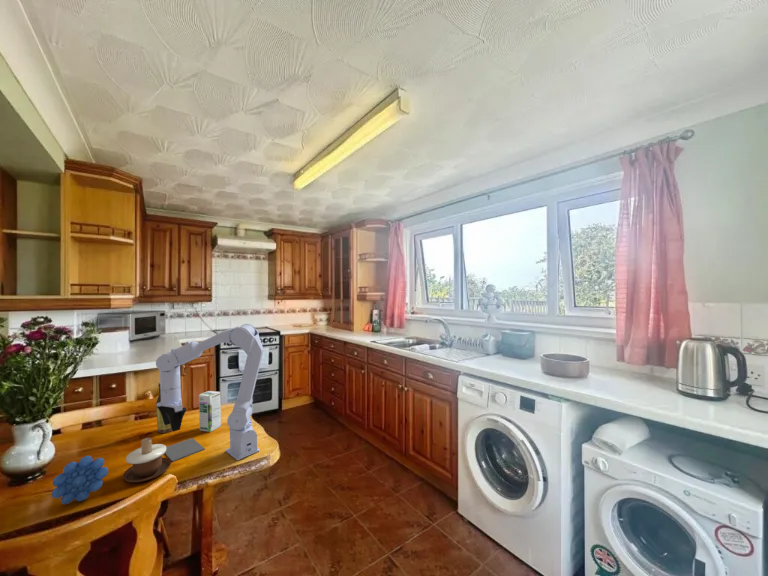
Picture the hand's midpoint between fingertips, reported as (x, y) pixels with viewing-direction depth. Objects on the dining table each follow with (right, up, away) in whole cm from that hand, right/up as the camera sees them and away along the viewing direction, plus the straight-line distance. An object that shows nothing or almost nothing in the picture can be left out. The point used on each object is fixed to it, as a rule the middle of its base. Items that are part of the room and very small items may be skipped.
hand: (172, 427), depth 108 cm
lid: (-2, -5, -9) cm, 10 cm away
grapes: (-11, -11, -20) cm, 26 cm away
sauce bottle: (-16, -10, +20) cm, 27 cm away
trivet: (+1, -10, +5) cm, 11 cm away
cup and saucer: (-2, -11, -9) cm, 14 cm away
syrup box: (+1, -10, +21) cm, 24 cm away
